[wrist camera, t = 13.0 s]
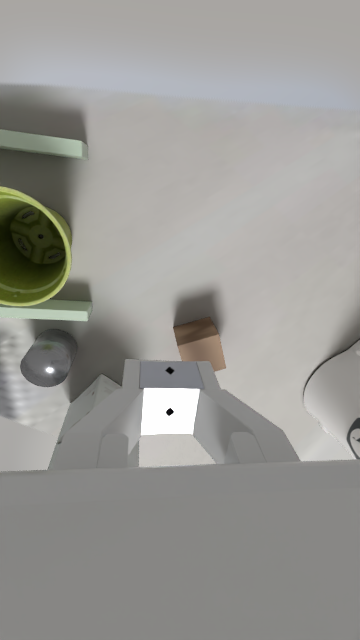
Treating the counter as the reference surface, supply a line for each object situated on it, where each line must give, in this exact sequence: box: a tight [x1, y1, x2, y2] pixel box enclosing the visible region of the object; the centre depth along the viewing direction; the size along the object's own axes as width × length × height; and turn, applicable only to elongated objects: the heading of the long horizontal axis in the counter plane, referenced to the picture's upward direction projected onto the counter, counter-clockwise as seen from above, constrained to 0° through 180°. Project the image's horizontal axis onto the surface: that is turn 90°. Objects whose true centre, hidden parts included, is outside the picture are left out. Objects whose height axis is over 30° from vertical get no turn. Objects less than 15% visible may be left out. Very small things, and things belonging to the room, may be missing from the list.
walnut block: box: [173, 317, 226, 372], centre depth 35 cm, size 5×5×5 cm
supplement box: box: [48, 374, 139, 470], centre depth 34 cm, size 7×7×13 cm
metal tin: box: [20, 329, 77, 387], centre depth 33 cm, size 5×5×5 cm
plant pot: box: [0, 186, 72, 306], centre depth 26 cm, size 9×9×9 cm
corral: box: [0, 129, 92, 321], centre depth 28 cm, size 12×17×3 cm
